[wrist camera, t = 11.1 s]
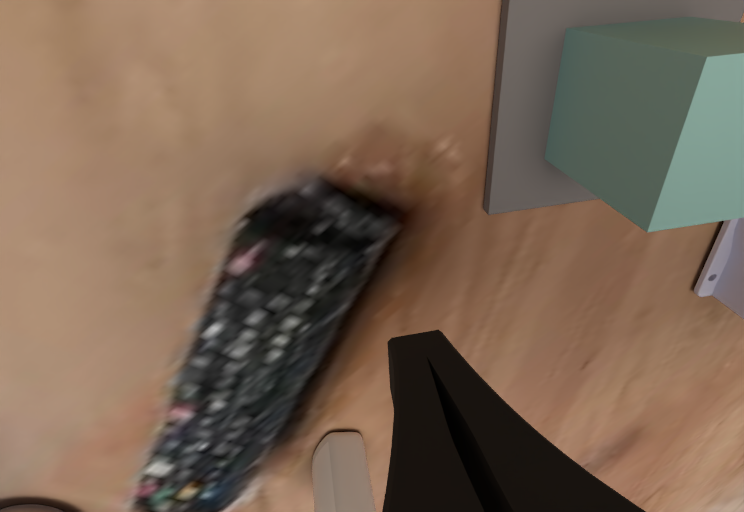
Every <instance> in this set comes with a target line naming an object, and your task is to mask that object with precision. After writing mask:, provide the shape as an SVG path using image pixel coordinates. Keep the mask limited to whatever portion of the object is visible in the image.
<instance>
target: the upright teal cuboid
mask: <svg viewBox="0 0 744 512" xmlns="http://www.w3.org/2000/svg"><path fill="white" fill-rule="evenodd" d="M544 159H545V160H547V161H548V162H549V163H551V164H552V165H554V166H555V167H556V168H558V169H559V170H561V171H562V172H563V173H565V174H566V175H568V176H569V177H570V178H572V179H573V180H575V181H576V182H577V183H579V184H580V185H582V186H583V187H584V188H586V189H587V190H589V191H590V192H591V193H593V194H594V195H596V196H597V197H598V198H600V199H601V200H603V201H604V202H605V203H607V204H608V205H610V206H611V207H612V208H614V209H615V210H617V211H618V212H619V213H621V214H622V215H624V216H625V217H626V218H628V219H629V220H631V221H632V222H633V223H635V224H636V225H638V226H639V227H640V228H642V229H643V230H645V231H646V232H653V231H660V230H666V229H673V228H679V227H686V226H692V225H699V224H705V223H712V222H718V221H725V220H731V219H738V218H744V23H741V22H732V21H723V20H715V19H706V18H697V17H681V18H670V19H660V20H649V21H638V22H628V23H617V24H606V25H596V26H585V27H574V28H566V34H565V40H564V46H563V52H562V58H561V63H560V69H559V75H558V81H557V87H556V93H555V99H554V105H553V111H552V117H551V122H550V128H549V134H548V140H547V146H546V152H545V158H544Z"/></svg>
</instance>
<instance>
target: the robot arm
mask: <svg viewBox="0 0 744 512" xmlns="http://www.w3.org/2000/svg"><path fill="white" fill-rule="evenodd" d="M694 293H695V294H697V295H698V296H700V297H705V296H710V295H712V296H714V297H715V298H716V299H718V300H719V301H720V302H722V303H723V304H724V305H726V306H727V307H728V308H730V309H731V310H732V311H734V312H735V313H736V314H737V315H739V316H740V317H741V318H743V319H744V218H738V219H731V220H725V221H724V223H723V225H722V227H721V230H720V232H719V234H718V236H717V239H716V241H715V243H714V245H713V248H712V250H711V252H710V254H709V257H708V259H707V261H706V263H705V266H704V268H703V270H702V272H701V275H700V277H699V279H698V281H697V284H696V286H695V288H694ZM388 357H389V374H390V389H391V394H392V400H393V406H394V422H393V436H392V448H391V457H390V465H389V473H388V480H387V487H386V494H385V499H384V505H383V511H382V512H645V511H644V510H642V509H641V508H639V507H638V506H636V505H635V504H633V503H632V502H631V501H629V500H628V499H626V498H625V497H623V496H622V495H620V494H619V493H618V492H616V491H615V490H613V489H612V488H610V487H609V486H607V485H606V484H605V483H603V482H602V481H600V480H599V479H597V478H596V477H595V476H593V475H592V474H590V473H589V472H588V471H586V470H585V469H584V468H582V467H581V466H580V465H578V464H577V463H576V462H575V461H573V460H572V459H571V458H569V457H568V456H567V455H565V454H564V453H563V452H562V451H560V450H559V449H558V448H557V447H556V446H554V445H553V444H552V443H551V442H549V441H548V440H547V439H546V438H545V437H543V436H542V435H541V434H540V433H539V432H538V431H536V430H535V429H534V428H533V427H532V426H531V425H530V424H528V423H527V422H526V421H525V420H524V419H523V418H522V417H521V416H520V415H519V414H518V413H516V412H515V411H514V410H513V409H512V408H511V407H510V406H509V405H508V404H507V403H506V402H505V401H504V400H503V399H502V398H501V397H500V396H499V395H498V394H497V393H496V392H495V391H494V390H493V389H492V388H491V387H490V386H489V385H488V384H487V383H486V382H485V381H484V380H483V379H482V378H481V377H480V376H479V375H478V374H477V373H476V372H475V370H474V369H473V368H472V367H471V366H470V365H469V364H468V363H467V362H466V360H465V359H464V358H463V357H462V356H461V355H460V354H459V352H458V351H457V350H456V349H455V348H454V347H453V345H452V344H451V343H450V342H449V341H448V339H447V338H446V337H445V336H444V334H443V333H442V332H441V331H439V330H435V331H429V332H423V333H418V334H412V335H406V336H400V337H395V338H391V339H390V340H389V341H388Z"/></svg>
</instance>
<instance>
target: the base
mask: <svg viewBox="0 0 744 512" xmlns="http://www.w3.org/2000/svg"><path fill="white" fill-rule="evenodd" d="M743 13H744V0H502V10H501V21H500V32H499V43H498V54H497V66H496V77H495V88H494V99H493V110H492V121H491V132H490V143H489V154H488V165H487V176H486V187H485V198H484V210H485V211H486V213H487V214H488V215H491V214H498V213H505V212H512V211H519V210H525V209H532V208H539V207H546V206H553V205H560V204H567V203H574V202H580V201H587V200H594V199H600V198H598V197H597V196H596V195H594V194H593V193H591V192H590V191H589V190H587V189H586V188H584V187H583V186H582V185H580V184H579V183H577V182H576V181H575V180H573V179H572V178H570V177H569V176H568V175H566V174H565V173H563V172H562V171H561V170H559V169H558V168H556V167H555V166H554V165H552V164H551V163H549V162H548V161H547V160H545V159H544V158H545V152H546V146H547V140H548V134H549V128H550V122H551V117H552V111H553V105H554V99H555V93H556V87H557V81H558V75H559V69H560V63H561V58H562V52H563V46H564V40H565V34H566V28H574V27H585V26H596V25H606V24H617V23H628V22H638V21H649V20H660V19H670V18H681V17H697V18H706V19H715V20H723V21H732V22H740V21H741V18H742V16H743Z"/></svg>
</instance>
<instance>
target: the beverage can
mask: <svg viewBox="0 0 744 512" xmlns="http://www.w3.org/2000/svg"><path fill="white" fill-rule="evenodd" d="M0 512H64V511H62V510H60V509H57V508H54V507H50V506H45V505H36V504H24V505H15V506H10V507H6V508H3V509H1V510H0Z"/></svg>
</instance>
